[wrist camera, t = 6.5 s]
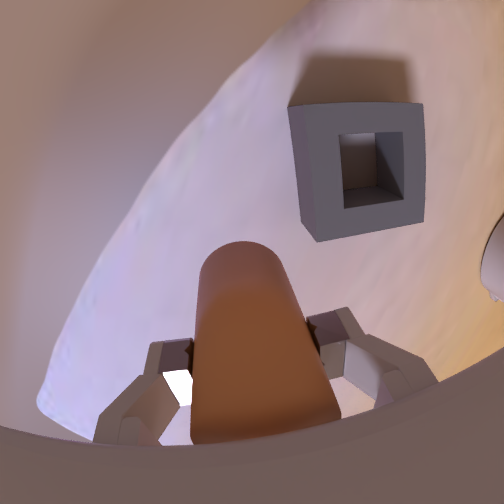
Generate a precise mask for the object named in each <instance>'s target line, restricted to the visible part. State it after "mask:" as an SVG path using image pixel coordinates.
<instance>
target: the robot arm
mask: <svg viewBox="0 0 504 504" xmlns="http://www.w3.org/2000/svg"><path fill="white" fill-rule="evenodd" d="M481 281H482V284H483V286H484V287H485V288H486V289H487V290H489V292H490V297H491V299H492V300H494V301H497V300H499V299H500V300H501V301H502V302H504V217H503V218H502V219H501V220H500V222H499V223H498V225H497V226H496V228H495V230H494V231H493V233H492V235H491V237H490V239H489V242H488V244H487V247H486V250H485V253H484V256H483V260H482V266H481ZM306 323H307V326H308V328H309V331H310V333H311V336H312V338H313V341H314V343H315V346H316V348H317V351H318V353H319V356H320V358H321V361H322V364H323V366H324V369H325V371H326V374H327V376H328V379H329V380H330V379H334V378H338V377H342V376H343V377H344V378H345V379H346V380H348V381H349V382H350V383H352V384H353V385H355V386H356V387H357V388H359V389H360V390H362V391H363V392H364V393H366V394H367V395H369V396H370V397H371V398H373V399H374V400H376V402H375V405H374V408H373V409H372V410H369V411H366V412H363V413H359V414H356V415H353V416H350V417H346V418H343V419H340V420H336V421H333V422H329V423H325V424H321V425H317V426H313V427H309V428H305V429H301V430H296V431H291V432H286V433H281V434H276V435H271V436H265V437H259V438H252V439H245V440H238V441H229V442H220V443H209V444H196V445H176V446H162V445H161V444H160V442H159V441H158V439H159V438H160V436H161V435H162V433H163V432H164V430H165V429H166V427H167V426H168V424H169V423H170V421H171V420H172V418H173V417H174V415H175V414H176V412H177V411H178V409H179V408H180V405H187V404H191V393H192V372H193V354H194V341H193V339H192V338H184V339H175V340H166V341H158V342H152V343H151V344H150V346H149V351H148V355H147V359H146V364H145V368H144V373H143V375H139V376H138V377H137V378H136V379H135V380H134V381H133V382H132V383H131V384H130V385H129V386H128V387H127V388H126V389H125V390H124V391H123V392H122V393H121V394H120V395H119V396H118V397H117V398H116V399H115V400H114V401H113V402H112V403H111V404H110V405H109V406H108V407H107V408H106V409H105V410H104V411H103V412H102V413H101V414H100V415H99V418H98V422H97V426H96V430H95V434H94V438H93V442H92V443H89V442H80V441H72V440H64V439H59V438H53V437H47V436H42V435H36V434H32V433H27V432H23V431H18V430H14V429H10V428H7V427H3V426H0V504H504V347H503V348H501V349H499V350H498V351H496V352H495V353H493V354H491V355H490V356H488V357H486V358H484V359H483V360H481V361H479V362H477V363H476V364H474V365H472V366H470V367H468V368H467V369H465V370H463V371H461V372H459V373H457V374H455V375H453V376H451V377H449V378H447V379H445V380H443V381H441V382H438V380H437V379H436V377H435V376H434V374H433V373H432V371H431V370H430V368H429V367H428V365H427V364H426V362H425V361H424V359H423V358H421V357H418V356H416V355H414V354H412V353H410V352H407V351H405V350H403V349H401V348H399V347H396V346H394V345H392V344H390V343H388V342H385V341H383V340H381V339H379V338H377V337H375V336H372V335H370V334H367V335H365V333H364V332H363V330H362V329H361V327H360V325H359V324H358V322H357V320H356V319H355V317H354V316H353V314H352V312H351V311H350V309H349V308H348V307H344V308H340V309H336V310H334V311H329V312H325V313H321V314H317V315H312V316H308V317H307V318H306Z"/></svg>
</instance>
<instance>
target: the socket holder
mask: <svg viewBox="0 0 504 504" xmlns="http://www.w3.org/2000/svg"><path fill="white" fill-rule="evenodd" d="M287 109H288V116H289V123H290V130H291V138H292V145H293V153H294V161H295V170H296V178H297V187H298V196H299V206H300V216H301V222H302V224H303V225H304V226H305V228H306V229H307V230H308V232H309V233H310V234H311V235H312V237H313V238H314V239H315V241H316V242H322V241H328V240H333V239H338V238H343V237H349V236H354V235H359V234H364V233H369V232H375V231H380V230H385V229H390V228H396V227H401V226H406V225H411V224H416V223H421V222H424V208H425V183H426V152H425V127H424V112H423V104H419V103H399V102H344V103H323V104H308V105H299V106H292V107H287ZM358 133H375V142H376V158H377V184H378V186H372V187H365V188H357V189H350V190H343V184H342V169H341V156H340V145H339V135H344V134H358Z"/></svg>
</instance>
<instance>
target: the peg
mask: <svg viewBox="0 0 504 504" xmlns="http://www.w3.org/2000/svg"><path fill="white" fill-rule="evenodd" d="M340 419H341V411H340V408H339V405H338V402H337V400H336V397H335V395H334V392H333V389H332V387H331V384H330V382H329V379H328V376H327V374H326V371H325V369H324V366H323V364H322V361H321V358H320V356H319V353H318V351H317V348H316V346H315V343H314V341H313V338H312V336H311V333H310V331H309V328H308V326H307V323H306V321H305V318H304V316H303V313H302V311H301V308H300V306H299V304H298V301H297V299H296V296H295V294H294V291H293V289H292V286H291V284H290V282H289V279H288V277H287V274H286V272H285V270H284V267H283V265H282V263H281V261H280V259H279V258H278V256H277V255H276V254H275V253H274V252H273V251H272V250H270V249H269V248H267V247H265V246H264V245H261V244H259V243H255V242H248V241H239V242H233V243H229V244H226V245H224V246H222V247H220V248H218V249H217V250H215V251H214V252H213V253H211V254H210V255H209V256H208V258H207V259H206V260H205V262H204V264H203V266H202V268H201V271H200V276H199V287H198V298H197V311H196V324H195V338H194V354H193V372H192V393H191V423H190V437H191V440H192V442H193V444H194V445H196V444H209V443H220V442H229V441H238V440H245V439H252V438H259V437H265V436H271V435H276V434H281V433H286V432H291V431H296V430H301V429H305V428H309V427H313V426H317V425H321V424H325V423H329V422H333V421H336V420H340Z"/></svg>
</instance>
